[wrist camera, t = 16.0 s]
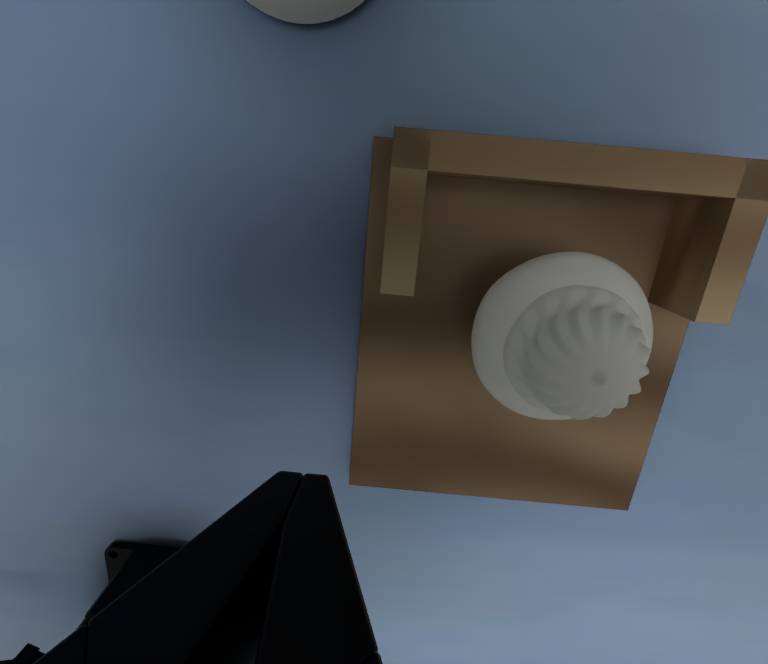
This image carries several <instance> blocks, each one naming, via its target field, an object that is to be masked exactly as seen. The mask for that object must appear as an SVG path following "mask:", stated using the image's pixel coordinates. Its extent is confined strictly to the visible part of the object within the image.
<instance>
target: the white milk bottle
mask: <svg viewBox="0 0 768 664" xmlns="http://www.w3.org/2000/svg"><path fill="white" fill-rule="evenodd" d="M246 1H248V2H249V3H250V4H252V5H253V6H254V7H256V8H257V9H259V10H261V11H262V12H264V13H266V14H268V15H270V16H272V17H274V18H277V19H280V20H283V21H286V22H291V23H297V24H317V23H322V22H327V21H331V20H334V19H336V18H338V17H341V16H343V15H345V14H347V13H349V12H350V11H352V10H353V9H355V8H356V7H358V6H359V5H360V4H362V3H363V2H364V1H365V0H246Z"/></svg>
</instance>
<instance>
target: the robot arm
mask: <svg viewBox="0 0 768 664" xmlns="http://www.w3.org/2000/svg"><path fill="white" fill-rule="evenodd" d="M105 560H106V566H107V573H108V579H109V584H108V585H107V586H106V588H105V589H104V590H103V592H102V593H101V594H100V596H99V597H98V598H97V600H96V601H95V602H94V604H93V605H92V606H91V608H90V609H89V610H88V612H87V613H86V615H85V619H84V620H83V621H82V623H81V624H80V625H79V627H78V628H77V630H76V631H74V632H73V633H72V634H70V635H69V636H68V637H67V638H65V639H64V640H63V641H61V642H60V643H59V644H58V645H56V646H55V647H54V648H53V649H51V650H50V651H49V652H47V653H46V654H45V653H42V652H40V651H39V649H40V648H38V647H36V646H34V645H32V644H29V643H28V644H27V645H26V646H25V647H24V648H23V649H22V650H21V652H20V653H19V654H18V655H17V656H16V657H15V658H14V659H12V660H4V661H0V664H383V663H382V660H381V657H380V654H378V653H377V652H378V647H377V644H376V640H375V637H374V633H373V630H372V626H371V623H370V619H369V616H368V613H367V609H366V606H365V602H364V599H363V595H362V592H361V588H360V585H359V581H358V578H357V574H356V571H355V567H354V564H353V560H352V557H351V553H350V550H349V547H348V543H347V540H346V536H345V533H344V529H343V526H342V522H341V519H340V515H339V512H338V508H337V505H336V501H335V498H334V494H333V491H332V487H331V484H330V480H329V478H328V476H326V475H320V474H309V473H308V474H305V475H304V476H303V475H302V474H301V473H298V472H288V471H280V472H278V473H276V474H275V475H273V476H272V477H271V478H270V479H268V480H267V481H266V482H265V483H263V484H262V485H261V486H259V487H258V488H257V489H256V490H254V491H253V492H252V493H251V494H249V495H248V496H247V497H245V498H244V499H243V500H242V501H240V502H239V503H238V504H237V505H235V506H234V507H233V508H231V509H230V510H229V511H228V512H226V513H225V514H224V515H222V516H221V517H220V518H219V519H217V520H216V521H215V522H214V523H212V524H211V525H210V526H208V527H207V528H206V529H205V530H203V531H202V532H201V533H200V534H198V535H197V536H196V537H194V538H193V539H192V540H191V541H189V542H188V543H187V544H186V545H184V546H183V547H182V548H177V547H166V546H155V545H145V544H134V543H123V542H113V543H111V544H110V545H109V547H108V548H107V549H106V550H105Z"/></svg>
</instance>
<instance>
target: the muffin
mask: <svg viewBox="0 0 768 664" xmlns="http://www.w3.org/2000/svg"><path fill="white" fill-rule="evenodd" d="M652 343H653V323H652V315H651V310H650V307H649V304H648V301H647V298H646V296H645V294H644V292H643V290H642V289H641V287H640V286H639V284H638V283H637V281H636V280H635V279H634V278H633V277H632V276H631V275H630V274H629V273H628V272H627V271H625V270H624V269H623V268H621V267H620V266H619V265H617V264H615V263H613V262H611V261H609V260H608V259H605V258H603V257H600V256H597V255H594V254H590V253H585V252H575V251H569V252H557V253H551V254H547V255H543V256H540V257H536V258H534V259H531V260H528V261H526V262H524V263H522V264H520V265H519V266H517V267H515V268H513V269H512V270H510V271H509V272H507V273H506V274H504V275H503V276H502V277H501V278H499V279H498V280H497V281H496V282H495V283H494V284H493V285H492V286H491V287H490V289H489V290H488V291H487V293H486V294H485V296H484V297H483V299H482V301H481V303H480V305H479V307H478V310H477V313H476V316H475V319H474V323H473V328H472V335H471V350H472V358H473V363H474V366H475V369H476V372H477V374H478V376H479V378H480V380H481V382H482V384H483V385H484V386H485V388H486V389H487V390H488V392H489V393H490V394H491V395H492V396H493V397H494V398H495V399H496V400H498V401H499V402H500V403H501V404H503V405H504V406H505V407H507V408H509V409H510V410H512V411H514V412H516V413H519V414H521V415H524V416H528V417H532V418H537V419H545V420H566V419H576V420H585V419H588V418H591V417H592V416H594V417H599V418H602V417H606V416H608V415H609V414H610V413H611V412H612V410H613V408H616V409H619V408H624V407H626V406H627V404H628V396H629V395H630V394H638V393H640V392H641V386H640V383H639V380H640V378H642V377H644V376H646V375H648V374H649V369H648V368H647V367H646V364H647V362H648V359H649V356H650V353H651V349H652Z"/></svg>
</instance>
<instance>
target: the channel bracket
mask: <svg viewBox="0 0 768 664" xmlns="http://www.w3.org/2000/svg"><path fill="white" fill-rule="evenodd" d="M767 216H768V160H763V159H752V158H740V157H729V156H718V155H707V154H696V153H685V152H673V151H662V150H651V149H640V148H629V147H618V146H607V145H595V144H584V143H573V142H562V141H551V140H540V139H529V138H517V137H506V136H495V135H484V134H473V133H462V132H451V131H439V130H428V129H417V128H406V127H395V126H394V134H393V138H387V137H375V136H374V145H373V159H372V172H371V186H370V200H369V214H368V228H367V242H366V256H365V270H364V284H363V298H362V312H361V326H360V340H359V354H358V368H357V382H356V396H355V410H354V424H353V438H352V452H351V466H350V480H349V484H350V485H361V486H372V487H382V488H393V489H404V490H415V491H425V492H436V493H447V494H458V495H468V496H479V497H490V498H500V499H511V500H522V501H533V502H543V503H554V504H565V505H576V506H586V507H597V508H608V509H618V510H628V508H629V505H630V502H631V499H632V496H633V493H634V490H635V487H636V484H637V481H638V478H639V475H640V472H641V468H642V465H643V462H644V459H645V456H646V453H647V450H648V447H649V444H650V441H651V438H652V435H653V432H654V429H655V426H656V423H657V420H658V417H659V413H660V410H661V407H662V404H663V401H664V398H665V395H666V392H667V389H668V386H669V383H670V380H671V377H672V374H673V371H674V368H675V365H676V361H677V358H678V355H679V352H680V349H681V346H682V343H683V340H684V337H685V334H686V331H687V328H688V325H689V322H690V320H691V321H694V322H700V323H711V324H722V325H729V322H730V320H731V317H732V314H733V311H734V309H735V306H736V303H737V300H738V297H739V295H740V292H741V289H742V286H743V283H744V281H745V278H746V275H747V272H748V269H749V267H750V264H751V261H752V258H753V256H754V253H755V250H756V247H757V244H758V242H759V239H760V236H761V233H762V230H763V228H764V225H765V222H766V219H767ZM569 251H575V252H585V253H590V254H594V255H597V256H600V257H603V258H605V259H608V260H609V261H611V262H613V263H615V264H617V265H619V266H620V267H621V268H623V269H624V270H625V271H627V272H628V273H629V274H630V275H631V276H632V277H633V278H634V279H635V280H636V281H637V283H638V284H639V286H640V287H641V289H642V290H643V292H644V294H645V296H646V298H647V301H648V304H649V307H650V310H651V315H652V323H653V343H652V349H651V353H650V356H649V359H648V362H647V364H646V367H647V368H648V369H649V374H648V375H646V376H644V377H642V378H640V380H639V383H640V386H641V392H640V393H638V394H630V395H629V396H628V404H627V406H626V407H624V408H619V409H616V408H613V410H612V412H611V413H610V414H609V415H608V416H606V417H602V418H599V417H594V416H592V417H591V418H588V419H585V420H576V419H566V420H545V419H537V418H532V417H528V416H524V415H521V414H519V413H516V412H514V411H512V410H510V409H509V408H507V407H505V406H504V405H503V404H501V403H500V402H499V401H498V400H496V399H495V398H494V397H493V396H492V395H491V394H490V393H489V392H488V390H487V389H486V388H485V386H484V385H483V384H482V382H481V380H480V378H479V376H478V374H477V372H476V369H475V366H474V363H473V358H472V350H471V335H472V328H473V323H474V319H475V316H476V313H477V310H478V307H479V305H480V303H481V301H482V299H483V297H484V296H485V294H486V293H487V291H488V290H489V289H490V287H491V286H492V285H493V284H494V283H495V282H496V281H497V280H498V279H499V278H501V277H502V276H503V275H504V274H506V273H507V272H509V271H510V270H512V269H513V268H515V267H517V266H519V265H520V264H522V263H524V262H526V261H528V260H531V259H534V258H536V257H540V256H543V255H547V254H551V253H557V252H569Z"/></svg>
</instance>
